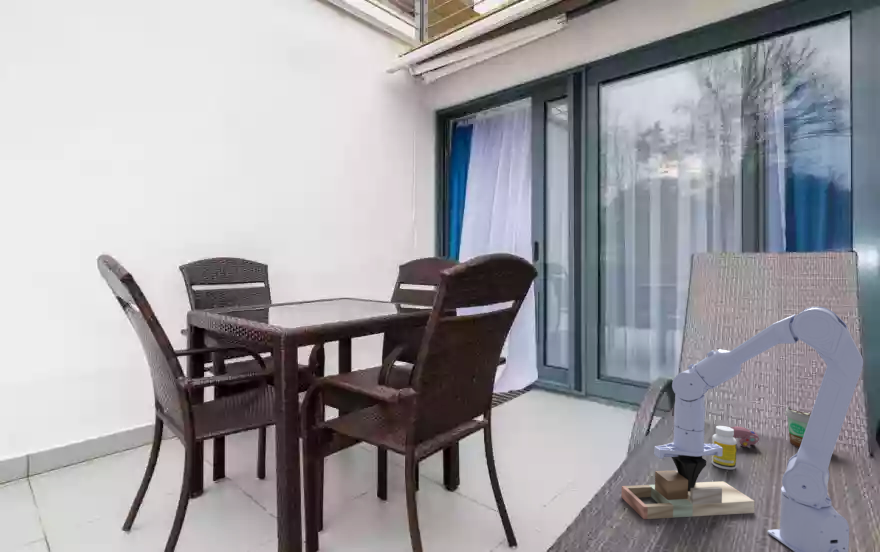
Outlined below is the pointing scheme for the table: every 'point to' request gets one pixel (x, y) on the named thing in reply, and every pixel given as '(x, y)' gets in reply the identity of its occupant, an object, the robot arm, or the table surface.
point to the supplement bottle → (725, 448)
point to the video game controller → (745, 436)
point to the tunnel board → (688, 501)
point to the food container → (796, 425)
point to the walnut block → (671, 485)
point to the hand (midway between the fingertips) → (687, 489)
